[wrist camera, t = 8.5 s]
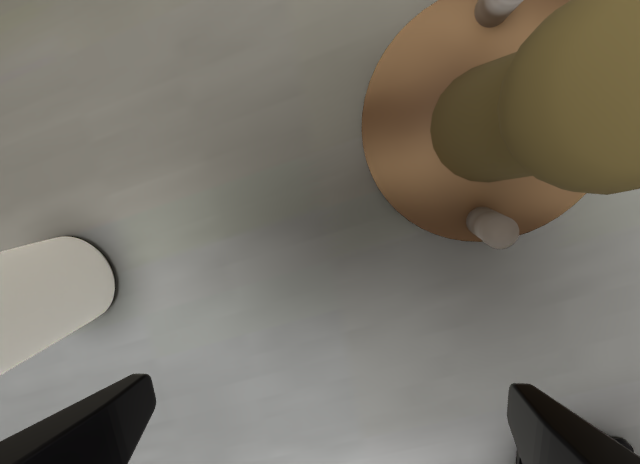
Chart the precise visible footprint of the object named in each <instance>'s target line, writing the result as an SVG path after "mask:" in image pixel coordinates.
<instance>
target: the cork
mask: <svg viewBox="0 0 640 464" xmlns="http://www.w3.org/2000/svg"><path fill="white" fill-rule="evenodd" d="M430 133H431V139H432V144H433V149H434V150H435V152H436V154H437V156H438V158H439V159H440V161H441V163H442V164H443V165H444V166H445V167H447V168H448V169H449V170H450V171H451V172H452V173H453V174H455V175H457V176H459V177H462V178H464V179H467V180H469V181H476V182H495V181H502V180H508V179H515V178H522V177H529V176H534V177H535V178H536V179H538V180H541V181H543V182H546V183H548V184H550V185H553V186H555V187H558V188H560V189H563V190H567V191H572V192H580V193H593V194H605V195H608V194H614V193H619V192H624V191H629V190H634V189H639V188H640V0H570V1H569V2H567V3H566V4H564V5H563V6H561V7H559V8H558V9H556V10H555V11H554V12H553V13H551V14H550V15H549V16H548V17H547V18H545V19H544V20H543V21H542V22H541V23H540V25H539V26H538V27H537V28H536V29H535V30H534V31H533V32H532V33H531V34H530V36H529V37H528V38H527V39H526V40H525V41H524V42H523V43H522V44H521V45H520V47H519V49H518V51H517V52H514V53H512V54H509V55H506V56H504V57H501V58H498V59H495V60H493V61H490V62H487V63H485V64H482V65H479V66H476V67H474V68H471V69H470V70H468V71H466V72H465V73H463V74H462V75H460V76H459V77H457V78H455V79H454V80H453V81H452V82H451V83H450V85H449V86H448V87H447V88H446V89H445V90H444V91H443V93H442V94H441V95H440V97H439V100H438V102H437V104H436V106H435V108H434V110H433V113H432V120H431V127H430Z"/></svg>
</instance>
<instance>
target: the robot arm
mask: <svg viewBox="0 0 640 464" xmlns="http://www.w3.org/2000/svg"><path fill="white" fill-rule="evenodd" d="M155 406H156V397H155V393H154V388H153V384H152V380H151V377H150V376H149V375H148V374H132V375H130V376H128V377H126V378H124V379H122V380H120V381H118V382H116V383H114V384H112V385H110V386H108V387H106V388H104V389H102V390H100V391H98V392H96V393H94V394H93V395H91V396H89V397H87V398H85V399H83V400H81V401H79V402H77V403H75V404H73V405H71V406H69V407H67V408H65V409H63V410H61V411H59V412H57V413H55V414H53V415H51V416H49V417H48V418H46V419H44V420H42V421H40V422H38V423H36V424H34V425H32V426H30V427H28V428H26V429H24V430H22V431H20V432H18V433H16V434H14V435H12V436H10V437H8V438H6V439H4V440H3V441H1V442H0V464H128V462H129V460H130V458H131V456H132V454H133V452H134V450H135V448H136V446H137V444H138V442H139V440H140V438H141V436H142V434H143V432H144V430H145V428H146V426H147V424H148V422H149V420H150V418H151V416H152V414H153V412H154V409H155ZM507 418H508V423H509V426H510V429H511V432H512V435H513V438H514V441H515V443H516V446H517V460H516V464H640V457H639V456H638V455H636V454H635V453H634V450H633V448H632V446H631V445H630V444H629V443H628V442H627V441H626V440H624V439H614V438H611V437H609V436H608V435H606V434H605V433H603V432H602V431H600V430H599V429H597V428H596V427H594V426H593V425H591V424H590V423H588V422H587V421H585V420H584V419H582V418H581V417H579V416H578V415H576V414H575V413H573V412H572V411H570V410H569V409H567V408H566V407H564V406H563V405H561V404H560V403H558V402H557V401H555V400H554V399H552V398H551V397H549V396H548V395H546V394H545V393H543V392H542V391H540V390H539V389H537V388H536V387H534V386H533V385H531V384H523V383H513V384H511V385H510V387H509V395H508V407H507Z"/></svg>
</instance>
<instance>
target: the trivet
mask: <svg viewBox="0 0 640 464" xmlns="http://www.w3.org/2000/svg"><path fill="white" fill-rule="evenodd" d="M569 1H570V0H438V1H437V2H435V3H434V4H432V5H431V6H429V7H428V8H426V9H424V10H423V11H422V12H421V13H419V14H418V15H417V16H416V17H415V18H413V19H412V20H411V21H410V22H409V23H408V24H407V25H406V26H405V27H404V28H403V29H402V30H401V31H400V32H399V33H398V34H397V35H396V37H395V38H394V39H393V41H392V42H391V43H390V45H389V46H388V47H387V49H386V50H385V52H384V54H383V55H382V57H381V59H380V61H379V62H378V64H377V66H376V68H375V70H374V73H373V75H372V77H371V80H370V82H369V86H368V89H367V93H366V96H365V101H364V107H363V113H362V139H363V148H364V152H365V157H366V161H367V164H368V167H369V169H370V172H371V175H372V177H373V179H374V181H375V182H376V184H377V186H378V188H379V190H380V191H381V192H382V194H383V195H384V197H385V198H386V199H387V201H388V202H389V203H390V204H391V205H392V206H393V207H394V208H395V209H396V210H397V211H398V212H399V213H400V214H401V215H403V216H404V217H405V218H406V219H408V220H409V221H411V222H412V223H414V224H415V225H417V226H419V227H420V228H422V229H424V230H427V231H429V232H431V233H433V234H436V235H439V236H443V237H446V238H450V239H456V240H461V241H476V242H483V241H484V242H485V243H486V244H487V245H489V246H490V247H492V248H495V249H505V248H508V247H510V246H511V245H513V244H514V243H515V242H516V240H517V239H518V236H519V235H521V234H524V233H528V232H530V231H532V230H534V229H537V228H539V227H541V226H543V225H545V224H547V223H549V222H550V221H552V220H554V219H555V218H557V217H559V216H560V215H561V214H563V213H564V212H565V211H567V210H568V209H569V208H571V207H572V206H573V205H574V204H575V203H577V202H578V201H579V200H580V199H581V198H582V197H583V196H584V195H585V194H586V193H580V192H572V191H567V190H563V189H560V188H558V187H555V186H553V185H550V184H548V183H546V182H543V181H541V180H538V179H536V178H535V177H534V176H529V177H522V178H515V179H508V180H502V181H495V182H476V181H469V180H467V179H464V178H462V177H459V176H457V175H455V174H453V173H452V172H451V171H450V170H449V169H448V168H447V167H445V166H444V165H443V164H442V163H441V161H440V159H439V158H438V156H437V154H436V152H435V150H434V149H433V144H432V139H431V133H430V127H431V120H432V113H433V110H434V108H435V106H436V104H437V102H438V100H439V97H440V95H441V94H442V93H443V91H444V90H445V89H446V88H447V87H448V86H449V85H450V83H451V82H452V81H453V80H454V79H455V78H457V77H459V76H460V75H462V74H463V73H465V72H466V71H468V70H470V69H471V68H474V67H476V66H479V65H482V64H485V63H487V62H490V61H493V60H495V59H498V58H501V57H504V56H506V55H509V54H512V53H514V52H517V51H518V49H519V47H520V45H521V44H522V43H523V42H524V41H525V40H526V39H527V38H528V37H529V36H530V34H531V33H532V32H533V31H534V30H535V29H536V28H537V27H538V26H539V25H540V23H541V22H542V21H543V20H544V19H545V18H547V17H548V16H549V15H550V14H551V13H553V12H554V11H555V10H556V9H558V8H559V7H561V6H563V5H564V4H566V3H567V2H569Z"/></svg>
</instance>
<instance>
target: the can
mask: <svg viewBox="0 0 640 464" xmlns="http://www.w3.org/2000/svg"><path fill="white" fill-rule="evenodd" d="M114 292H115V278H114V274H113V271H112V268H111V266H110V264H109V262H108V261H107V259H106V258H105V257H104V255H103V254H102V253H101V252H100V251H99V250H98V249H96V248H95V247H94V246H92V245H91V244H89V243H87V242H85V241H83V240H81V239H78V238H75V237H68V236H63V237H57V238H52V239H48V240H44V241H40V242H36V243H32V244H29V245H25V246H21V247H17V248H13V249H9V250H5V251H2V252H0V375H2V374H4V373H5V372H7V371H9V370H10V369H12V368H14V367H15V366H17V365H19V364H20V363H22V362H24V361H25V360H27V359H29V358H31V357H32V356H34V355H36V354H37V353H39V352H41V351H42V350H44V349H46V348H47V347H49V346H51V345H52V344H54V343H56V342H57V341H59V340H61V339H62V338H64V337H66V336H67V335H69V334H71V333H72V332H74V331H76V330H77V329H79V328H81V327H82V326H84V325H86V324H87V323H89V322H91V321H92V320H94V319H95V318H97V317H99V316H100V315H102V314H103V313H104V312H105V311H106V310H107V309H108V308H109V306H110V305H111V303H112V300H113V297H114Z"/></svg>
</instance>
